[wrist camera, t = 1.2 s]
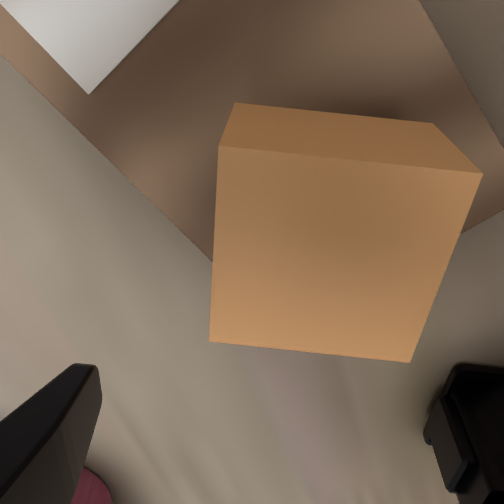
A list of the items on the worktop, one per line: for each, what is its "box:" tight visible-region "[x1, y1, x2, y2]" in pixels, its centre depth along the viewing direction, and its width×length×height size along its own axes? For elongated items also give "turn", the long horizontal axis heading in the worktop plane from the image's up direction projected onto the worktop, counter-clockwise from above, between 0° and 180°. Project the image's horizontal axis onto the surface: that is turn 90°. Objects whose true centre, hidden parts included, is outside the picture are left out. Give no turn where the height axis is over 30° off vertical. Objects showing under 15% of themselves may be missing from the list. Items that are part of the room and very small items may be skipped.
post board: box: [0, 0, 504, 262], centre depth 13 cm, size 24×12×8 cm, turn 40°
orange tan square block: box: [209, 103, 483, 363], centre depth 13 cm, size 6×6×4 cm
